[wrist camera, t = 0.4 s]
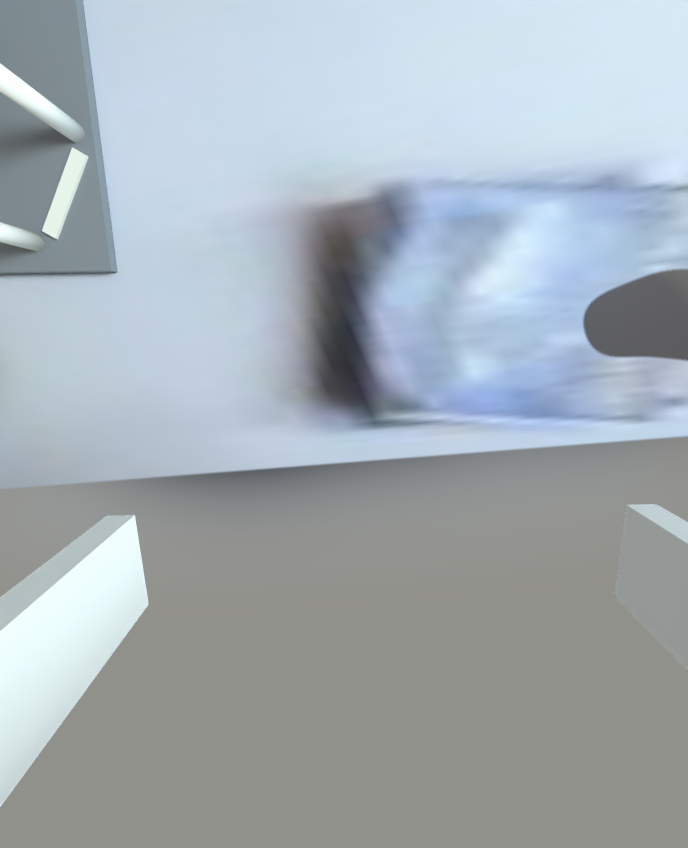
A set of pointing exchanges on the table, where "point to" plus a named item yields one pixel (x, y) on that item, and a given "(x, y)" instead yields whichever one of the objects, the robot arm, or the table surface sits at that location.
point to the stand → (50, 144)
